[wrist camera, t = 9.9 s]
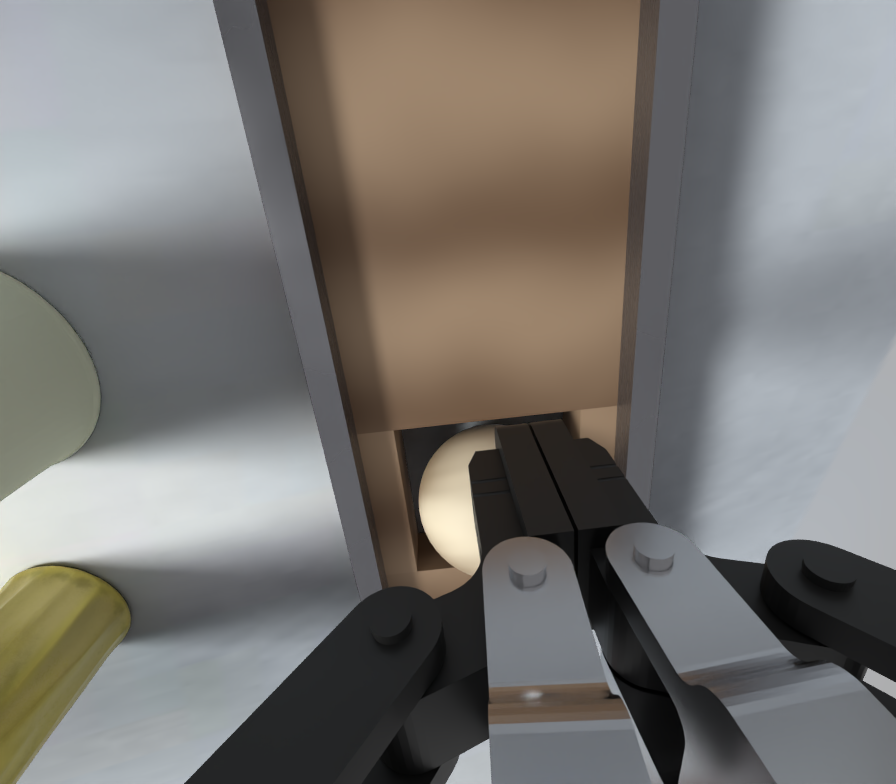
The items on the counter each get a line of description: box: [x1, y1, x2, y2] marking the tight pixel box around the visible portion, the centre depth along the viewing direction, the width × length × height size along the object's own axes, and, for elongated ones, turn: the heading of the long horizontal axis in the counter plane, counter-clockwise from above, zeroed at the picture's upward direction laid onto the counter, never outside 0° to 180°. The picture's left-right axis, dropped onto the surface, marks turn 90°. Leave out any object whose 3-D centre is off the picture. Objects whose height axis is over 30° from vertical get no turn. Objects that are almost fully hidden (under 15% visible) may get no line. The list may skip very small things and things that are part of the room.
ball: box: [419, 424, 505, 576], centre depth 18 cm, size 6×6×6 cm
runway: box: [213, 0, 699, 602], centre depth 17 cm, size 26×12×4 cm, turn 6°
